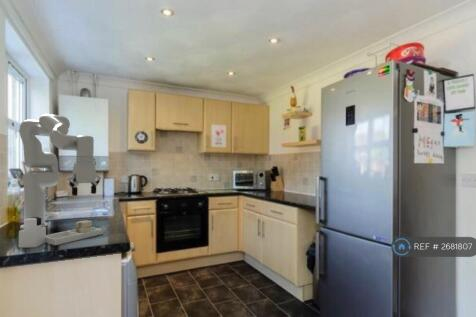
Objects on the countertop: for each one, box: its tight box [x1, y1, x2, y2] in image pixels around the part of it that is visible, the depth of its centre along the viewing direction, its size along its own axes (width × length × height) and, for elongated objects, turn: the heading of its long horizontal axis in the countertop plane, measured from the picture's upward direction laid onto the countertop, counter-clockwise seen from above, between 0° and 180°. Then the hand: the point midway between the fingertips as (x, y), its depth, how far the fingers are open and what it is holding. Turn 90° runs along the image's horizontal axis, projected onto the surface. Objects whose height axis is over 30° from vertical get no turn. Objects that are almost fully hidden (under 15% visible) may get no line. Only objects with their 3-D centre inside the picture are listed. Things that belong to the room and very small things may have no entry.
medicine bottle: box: [18, 217, 47, 249], centre depth 122 cm, size 7×7×12 cm
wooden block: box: [75, 220, 93, 233], centre depth 139 cm, size 5×5×6 cm
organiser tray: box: [45, 226, 103, 246], centre depth 134 cm, size 12×22×2 cm, turn 151°
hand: (84, 194), depth 139 cm, fingers open, 9 cm apart
